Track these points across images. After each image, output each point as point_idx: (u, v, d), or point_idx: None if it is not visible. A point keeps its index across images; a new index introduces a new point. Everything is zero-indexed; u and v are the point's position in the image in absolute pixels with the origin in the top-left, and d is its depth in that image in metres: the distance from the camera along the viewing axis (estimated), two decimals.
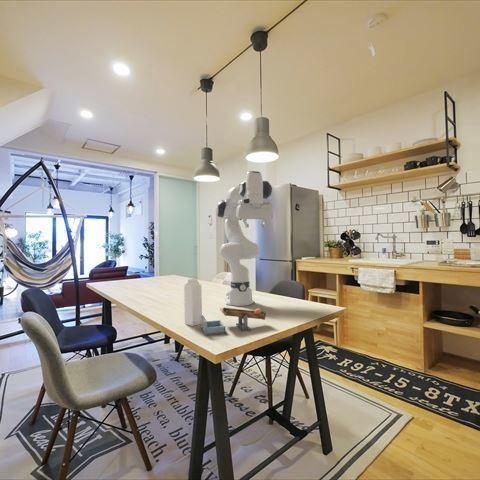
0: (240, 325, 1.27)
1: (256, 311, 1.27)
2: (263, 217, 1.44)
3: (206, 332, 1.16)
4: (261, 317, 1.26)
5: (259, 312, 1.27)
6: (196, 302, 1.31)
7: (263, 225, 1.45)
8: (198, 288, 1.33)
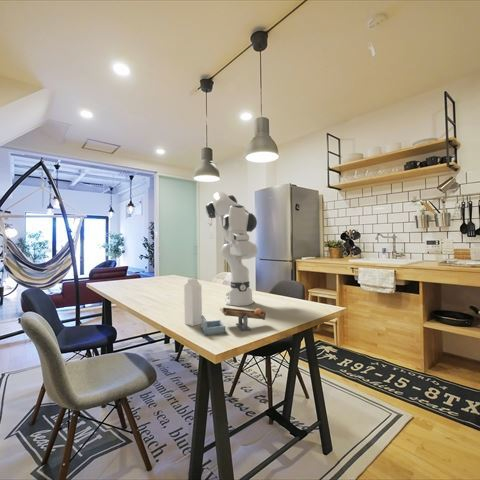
0: (240, 325, 1.27)
1: (256, 311, 1.27)
2: None
3: (206, 332, 1.16)
4: (261, 317, 1.26)
5: (259, 312, 1.27)
6: (196, 302, 1.31)
7: None
8: (198, 288, 1.33)
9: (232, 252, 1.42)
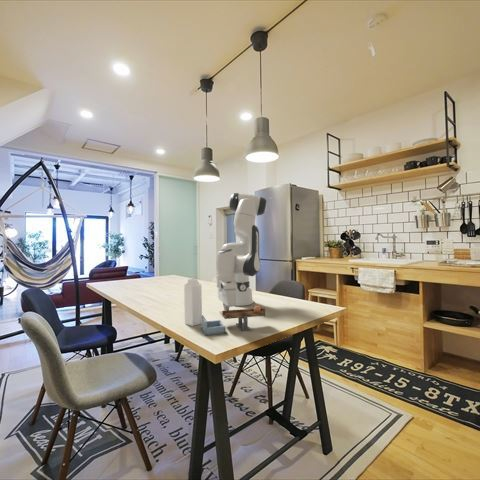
0: (240, 325, 1.27)
1: (255, 309, 1.27)
2: None
3: (206, 332, 1.16)
4: (261, 314, 1.26)
5: (258, 309, 1.27)
6: (196, 302, 1.31)
7: None
8: (198, 288, 1.33)
9: (220, 298, 1.34)
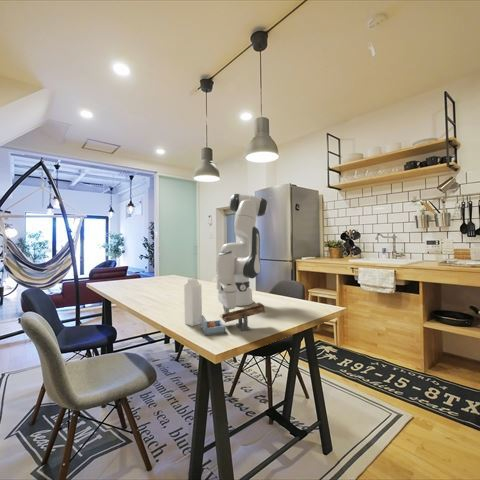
0: (240, 325, 1.27)
1: None
2: None
3: (206, 332, 1.16)
4: (261, 311, 1.26)
5: (211, 325, 1.20)
6: (196, 302, 1.31)
7: None
8: (198, 288, 1.33)
9: (220, 300, 1.34)
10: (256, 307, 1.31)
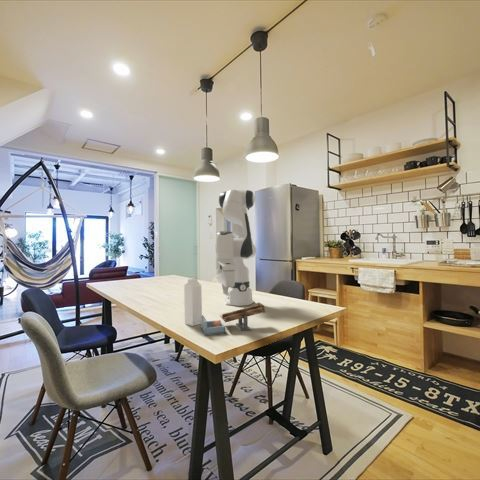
0: (240, 325, 1.27)
1: (215, 323, 1.22)
2: None
3: (206, 332, 1.16)
4: (261, 311, 1.26)
5: (218, 325, 1.21)
6: (196, 302, 1.31)
7: None
8: (198, 288, 1.33)
9: (219, 280, 1.34)
10: (256, 307, 1.31)
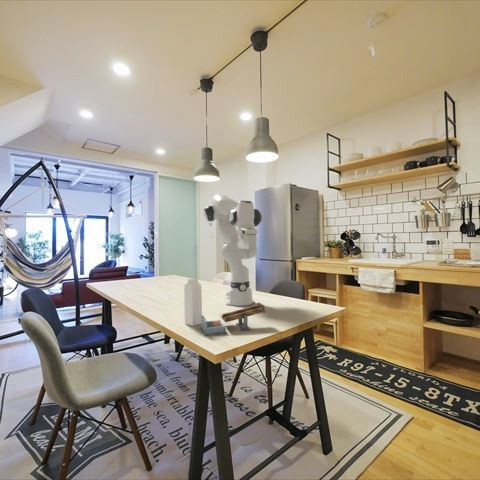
0: (240, 325, 1.27)
1: (214, 324, 1.21)
2: None
3: (206, 332, 1.16)
4: (261, 311, 1.26)
5: (217, 325, 1.21)
6: (196, 302, 1.31)
7: None
8: (198, 288, 1.33)
9: (240, 246, 1.46)
10: (256, 307, 1.31)
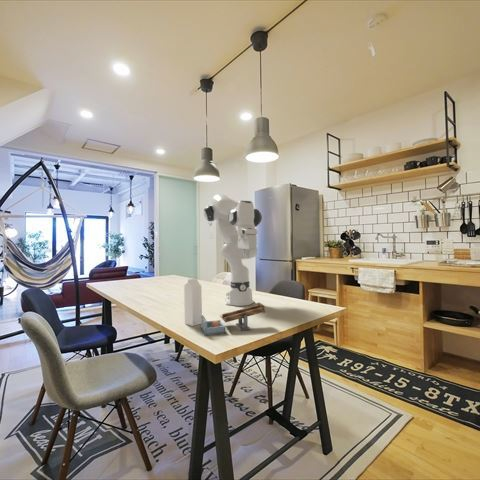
0: (240, 325, 1.27)
1: (213, 325, 1.21)
2: None
3: (206, 332, 1.16)
4: (261, 311, 1.26)
5: (216, 325, 1.21)
6: (196, 302, 1.31)
7: None
8: (198, 288, 1.33)
9: (240, 246, 1.46)
10: (256, 307, 1.31)
